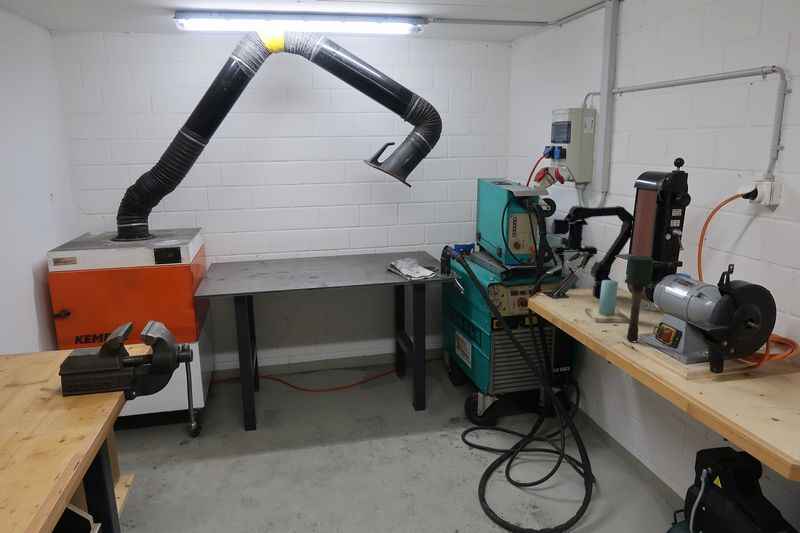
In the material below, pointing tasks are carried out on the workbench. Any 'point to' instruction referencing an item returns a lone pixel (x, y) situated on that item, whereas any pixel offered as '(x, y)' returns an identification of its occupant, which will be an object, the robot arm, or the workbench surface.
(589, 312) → the board
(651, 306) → the pneumatic valve
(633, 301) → the stick grenade
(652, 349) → the workbench surface
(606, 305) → the canister
